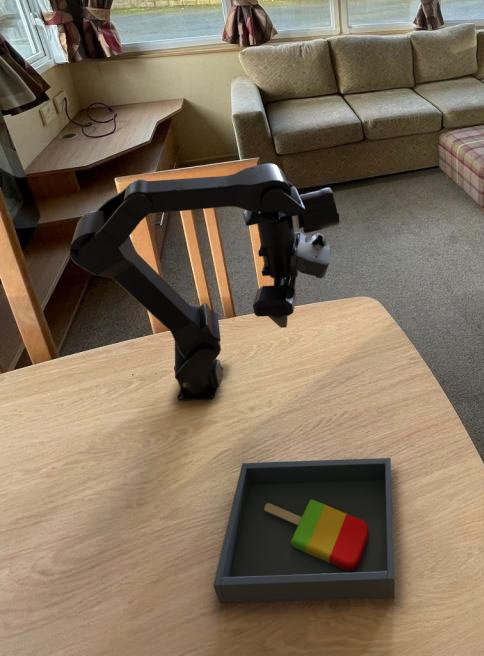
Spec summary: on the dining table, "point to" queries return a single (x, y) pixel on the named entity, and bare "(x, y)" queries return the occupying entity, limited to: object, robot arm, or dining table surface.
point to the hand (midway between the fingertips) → (287, 307)
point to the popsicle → (327, 534)
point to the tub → (276, 533)
